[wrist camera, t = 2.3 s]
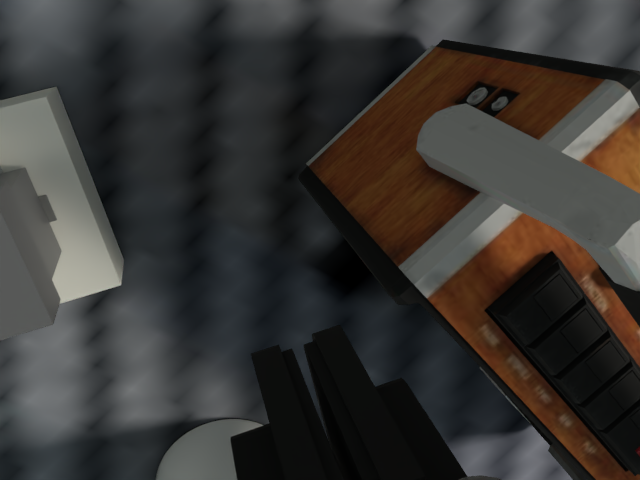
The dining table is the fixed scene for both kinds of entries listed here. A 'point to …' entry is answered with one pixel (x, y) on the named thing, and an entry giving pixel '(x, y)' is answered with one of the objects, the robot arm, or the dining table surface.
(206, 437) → the candle holder
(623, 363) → the radio cassette player
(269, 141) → the dining table surface
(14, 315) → the fader knob
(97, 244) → the fader console
